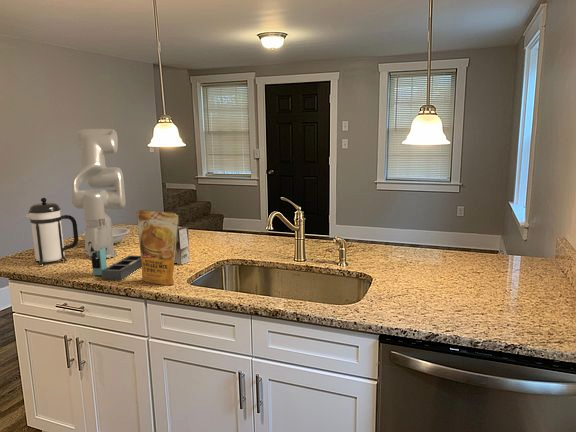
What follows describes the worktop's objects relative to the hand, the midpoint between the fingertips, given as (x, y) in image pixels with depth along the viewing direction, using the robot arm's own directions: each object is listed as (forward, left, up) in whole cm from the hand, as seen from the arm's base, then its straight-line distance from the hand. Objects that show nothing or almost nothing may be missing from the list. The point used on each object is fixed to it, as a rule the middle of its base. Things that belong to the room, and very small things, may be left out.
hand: (99, 265), depth 184 cm
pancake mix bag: (+28, -5, -4) cm, 29 cm away
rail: (+8, +6, -4) cm, 11 cm away
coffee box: (+25, +22, -4) cm, 33 cm away
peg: (0, 0, -3) cm, 3 cm away
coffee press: (-34, +18, -4) cm, 38 cm away
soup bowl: (-27, +52, -4) cm, 58 cm away
